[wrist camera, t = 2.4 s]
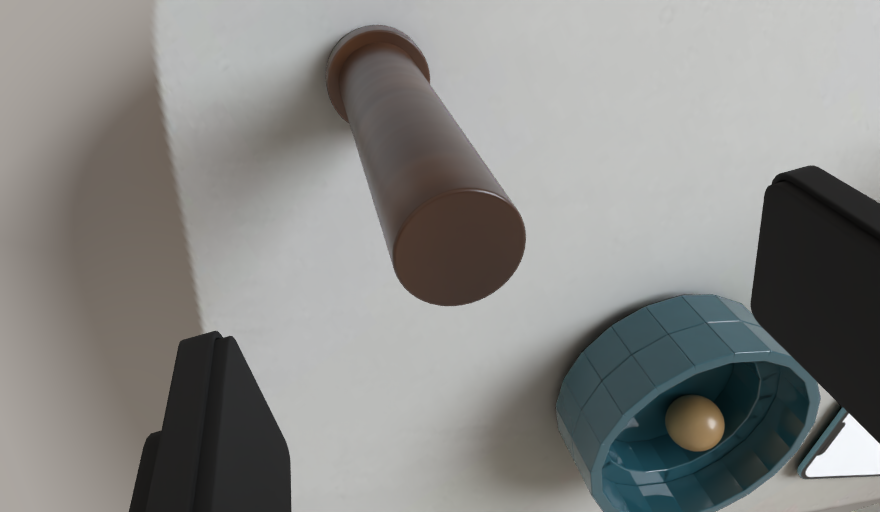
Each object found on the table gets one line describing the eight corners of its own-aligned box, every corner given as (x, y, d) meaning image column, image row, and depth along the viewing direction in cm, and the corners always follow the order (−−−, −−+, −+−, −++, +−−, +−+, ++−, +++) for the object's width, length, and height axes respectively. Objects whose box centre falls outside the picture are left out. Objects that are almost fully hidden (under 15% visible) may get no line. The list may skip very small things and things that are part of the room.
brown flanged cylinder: (340, 135, 23) (395, 341, 14) (312, 38, 21) (351, 199, 12) (433, 111, 24) (551, 294, 14) (414, 13, 22) (537, 148, 12)
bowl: (560, 476, 38) (596, 552, 34) (542, 327, 31) (584, 400, 27) (744, 416, 39) (801, 483, 35) (766, 259, 32) (839, 320, 28)
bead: (654, 428, 36) (682, 470, 34) (655, 392, 35) (685, 434, 32) (702, 412, 37) (734, 453, 34) (705, 376, 35) (738, 416, 32)
